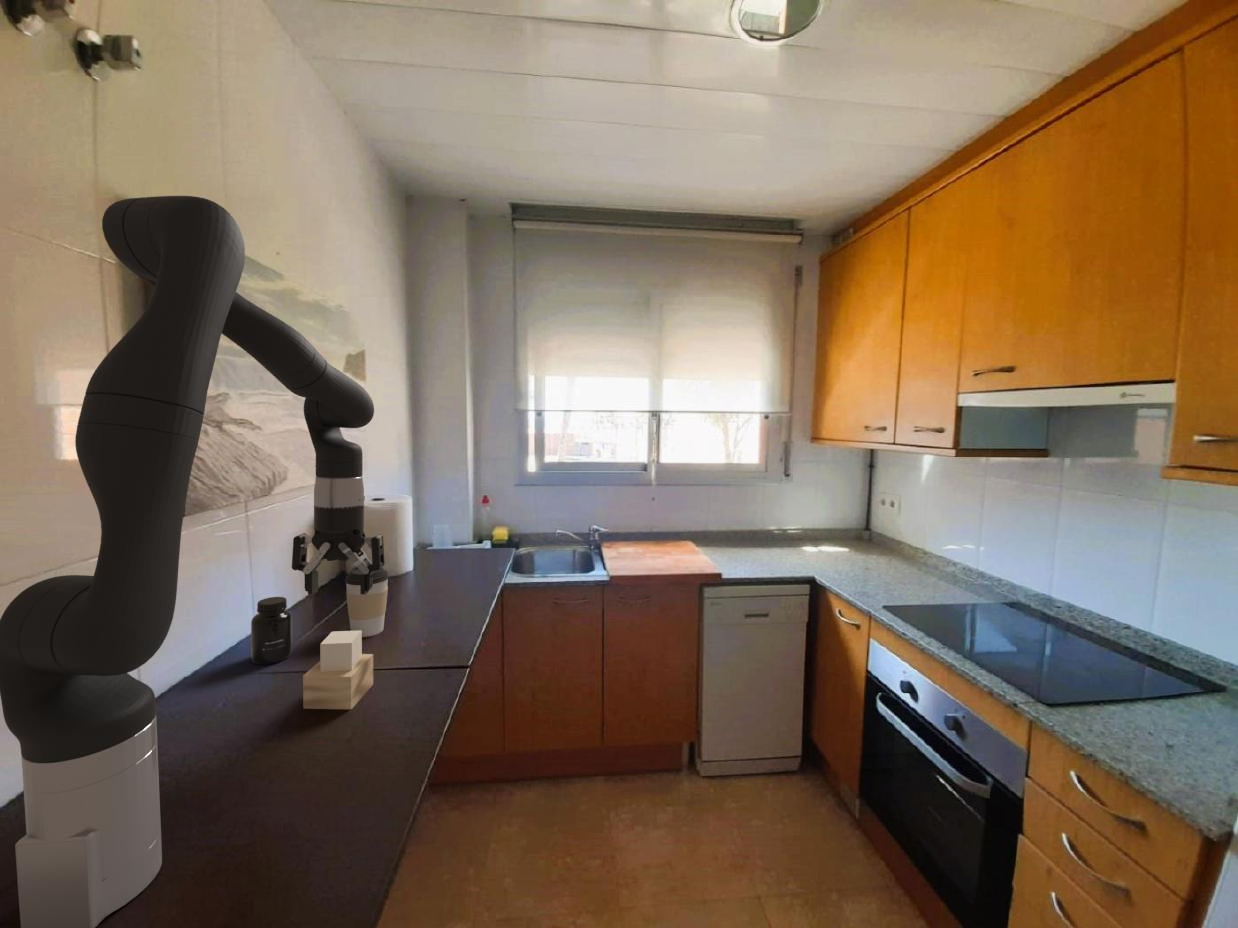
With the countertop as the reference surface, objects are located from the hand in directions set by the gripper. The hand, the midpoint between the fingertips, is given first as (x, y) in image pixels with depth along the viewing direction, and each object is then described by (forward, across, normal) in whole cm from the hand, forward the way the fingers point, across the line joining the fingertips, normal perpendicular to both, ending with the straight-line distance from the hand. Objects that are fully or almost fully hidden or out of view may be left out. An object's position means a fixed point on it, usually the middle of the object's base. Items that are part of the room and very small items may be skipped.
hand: (339, 593), depth 84 cm
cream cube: (+13, 0, 0) cm, 13 cm away
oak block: (+19, 0, 0) cm, 19 cm away
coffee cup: (+19, -5, +27) cm, 33 cm away
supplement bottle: (+19, -19, +15) cm, 31 cm away
